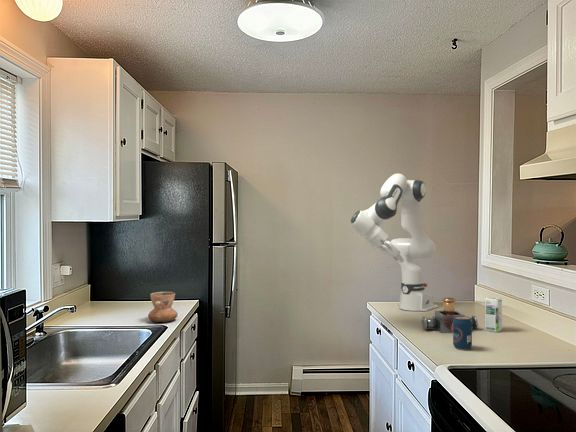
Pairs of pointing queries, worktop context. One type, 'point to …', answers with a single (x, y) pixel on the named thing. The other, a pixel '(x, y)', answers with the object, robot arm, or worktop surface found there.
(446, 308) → the copper flared cylinder
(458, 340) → the soda can
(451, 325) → the valve body
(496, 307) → the syrup box
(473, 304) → the worktop surface
